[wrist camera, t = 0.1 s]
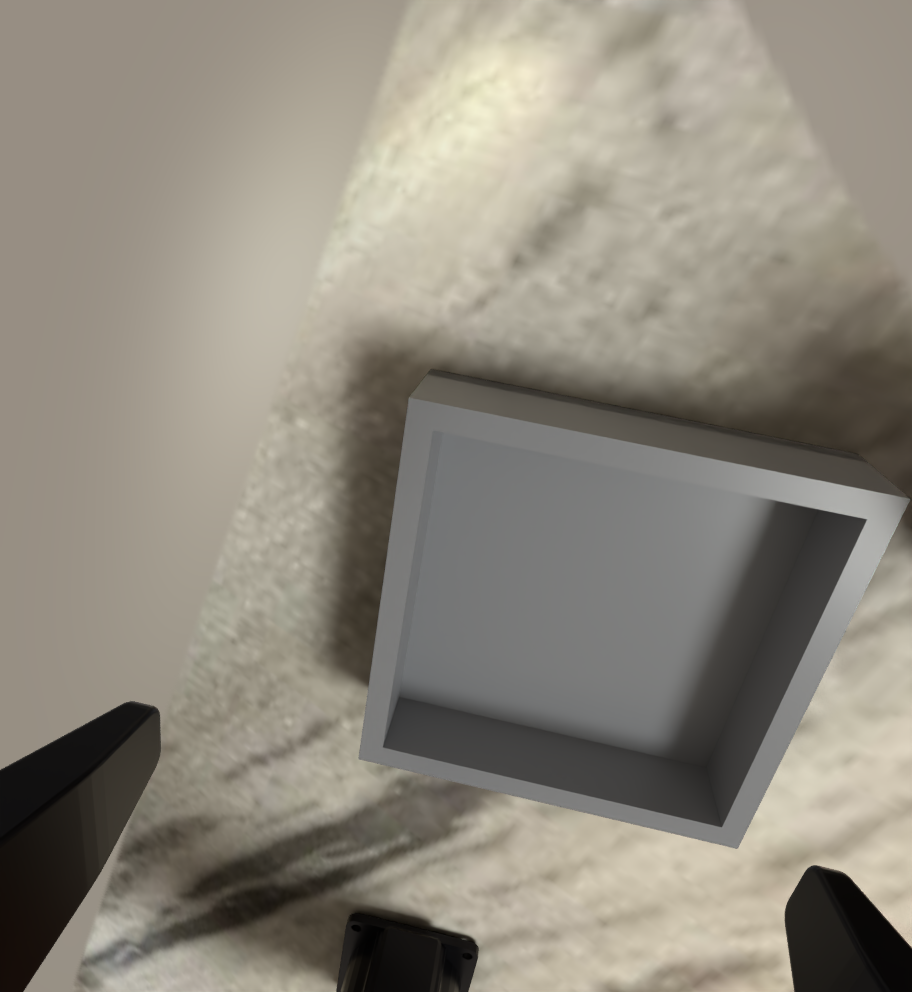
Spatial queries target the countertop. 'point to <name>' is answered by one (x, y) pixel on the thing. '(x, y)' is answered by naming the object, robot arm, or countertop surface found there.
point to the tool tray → (611, 602)
